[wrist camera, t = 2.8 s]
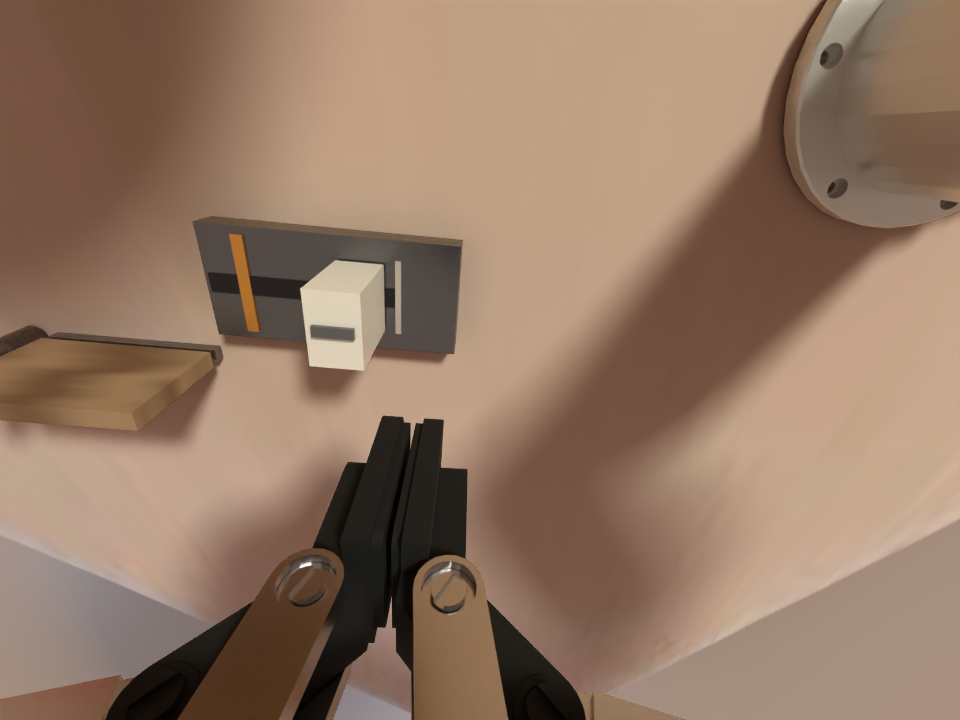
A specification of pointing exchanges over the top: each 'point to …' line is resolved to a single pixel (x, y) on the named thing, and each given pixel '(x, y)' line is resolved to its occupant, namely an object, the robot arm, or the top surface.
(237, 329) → the board
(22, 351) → the door
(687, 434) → the top surface
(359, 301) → the fader cap
